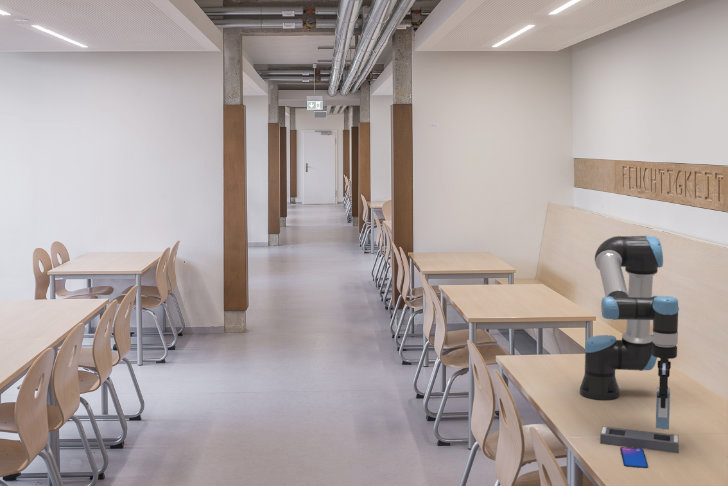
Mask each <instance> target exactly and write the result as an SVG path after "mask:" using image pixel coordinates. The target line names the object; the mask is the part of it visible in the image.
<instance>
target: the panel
mask: <svg viewBox="0 0 728 486" xmlns="http://www.w3.org/2000/svg"><path fill="white" fill-rule="evenodd" d="M599 439H600V440H599V444H603V445H611V446H612V445H613V446H620V447H632V448H642V449H643V450H652V451H661V452H668V453H677V454H679V446H680V445H679V434H671V433H663V432H655V431H645V430H638V429H637V430H636V429H630V428H629V429H627V428H621V427H620V428H619V427H609V426H602V427H601V431H600V438H599Z"/></svg>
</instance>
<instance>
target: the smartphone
mask: <svg viewBox="0 0 728 486" xmlns="http://www.w3.org/2000/svg"><path fill="white" fill-rule="evenodd" d="M619 450H620V455H621V458H622V459H621V460H622V464H623V466H624V467H627V468H638V469H639V468H641V469H649V464H648V461H647V457H646V453H645V449H643V448H635V447H627V446H620V448H619Z"/></svg>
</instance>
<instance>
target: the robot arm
mask: <svg viewBox="0 0 728 486" xmlns="http://www.w3.org/2000/svg"><path fill="white" fill-rule="evenodd" d="M659 239H660V238H658V237H657V236H650V235H649V236H647V235H635V236H633V235H631V236H630V235H629V236H627V235H626V236H622V235H620V236H619V235H618V236H612V237H610V238H608V239H606V240H605V241H603V242H602V243H601V244H599V246H598V247H597V250H596V251H595V254H594V262H595V263H594V264H595V267H596V268H597V270H599V273H600V277H601V278H600V279H601V283H602V287H603V292H604V295H605V296H604V297H602V298H601V306H600V307H601V316H602V318H603V319H606V320H622V321H623V320H626V330H625V332H624V333H623V334H622V335H621V339H617V338H616V336H615V335H611V334H610V335H609V334H601V335H600V334H599V335H594V336H591V337H588V338H587V339H586V341H585V345H584V375H583V378H582V381H581V383H580V386H579V394H580V395H581V396H582V395H583V396H582V397H584V396H585V398H587V397H588V398H587V399H592V400H601V401H606V400H607V401H609V400H615V399H618V398H619V397H620V388H619V385H618V381H617V378H616V370H617V371H618V370H620V371H621V370H623V371H624V370H626V371H640V372H642V371H651V370H653V369H654V368H655V366H656V363H657V368H658V371H657V375H658V377H659V385H658V387H659V396H657V395H656V399H657V398H659V405H658V417H664V418H667V406H668V395H667V390H668V388H669V386H668V384H669V381H668V380H669V377H670V373H671V372H670V371H671V370H670V369H671V368H672V367H671V366H672V362H671V361H670V360H669V359H671V360H672V359H676V358H678V357H677V356H678V346H677V345H678V338H679V332H678V327H679V311H680V308H679V300H678V298H676V297H673V296H669V295H653V282H654V281H653V279H654V276H655V275H656V274H658V271H659V270H658V269H659V268H663V265H664V255H663V248H662V243H661V241H660V240H659ZM622 268H624V269H625V270H624V271H625V272H626V273H627V275H628V288H627V285H626V282H625V277H624V274H623V273H624V272H623V269H622ZM651 321H652V333H650V332H651V331H650V330H651ZM658 358H659V360H657V359H658Z"/></svg>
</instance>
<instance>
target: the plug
mask: <svg viewBox="0 0 728 486" xmlns="http://www.w3.org/2000/svg"><path fill="white" fill-rule="evenodd" d="M667 395H668V406H667V418H664V417H658V405H659V398H657V396H659V386H657V387H656V398H655V399H656V401H655V402H656V405H655V411H656V412H655V429H661V430H670V412H671V411H670V407H671V406H670V405H671V404H670V403H671V402H670V401H671V388H670V387H668V390H667Z"/></svg>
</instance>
